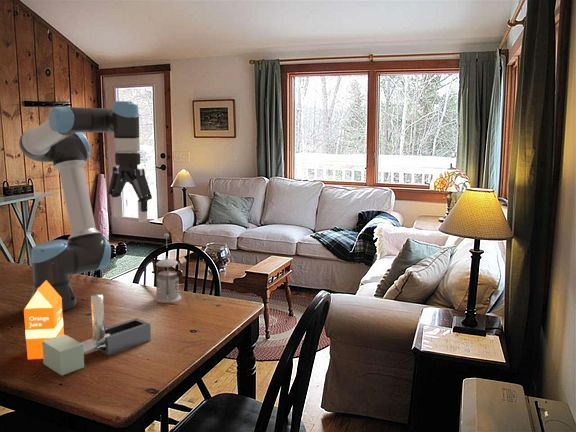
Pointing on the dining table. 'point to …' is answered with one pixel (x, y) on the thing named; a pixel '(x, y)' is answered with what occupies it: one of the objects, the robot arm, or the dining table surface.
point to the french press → (167, 281)
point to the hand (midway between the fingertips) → (130, 219)
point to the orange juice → (42, 319)
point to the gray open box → (126, 336)
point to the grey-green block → (63, 354)
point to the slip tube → (96, 326)
